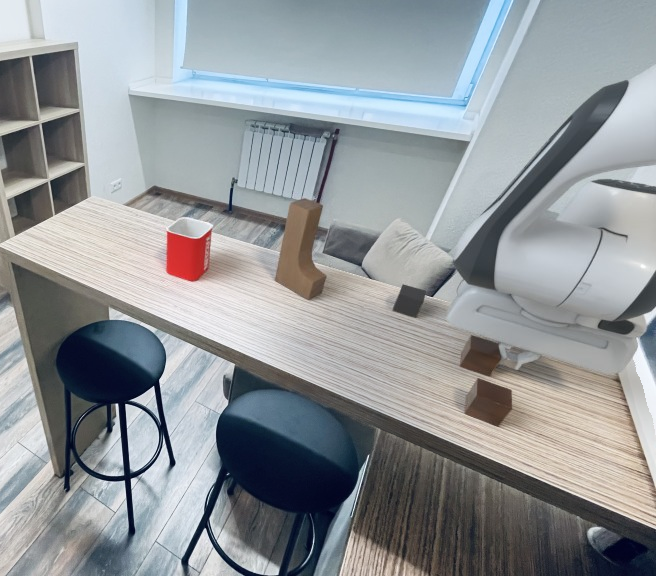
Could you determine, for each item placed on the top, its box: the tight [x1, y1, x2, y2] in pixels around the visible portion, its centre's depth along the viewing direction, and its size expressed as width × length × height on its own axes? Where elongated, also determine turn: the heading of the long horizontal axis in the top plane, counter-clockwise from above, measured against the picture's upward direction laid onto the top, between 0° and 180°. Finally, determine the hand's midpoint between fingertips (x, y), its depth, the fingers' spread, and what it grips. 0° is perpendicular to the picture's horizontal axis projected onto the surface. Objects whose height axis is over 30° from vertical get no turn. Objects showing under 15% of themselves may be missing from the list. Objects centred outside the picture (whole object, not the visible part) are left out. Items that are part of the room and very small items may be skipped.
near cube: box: [464, 377, 513, 427], centre depth 58 cm, size 4×4×4 cm
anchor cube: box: [392, 284, 427, 319], centre depth 78 cm, size 4×4×4 cm
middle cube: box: [459, 334, 501, 377], centre depth 66 cm, size 4×4×4 cm
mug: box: [165, 216, 214, 282], centre depth 90 cm, size 12×8×11 cm
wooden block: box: [274, 197, 328, 301], centre depth 81 cm, size 9×4×18 cm, turn 34°
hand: (506, 364), depth 64 cm, fingers closed
